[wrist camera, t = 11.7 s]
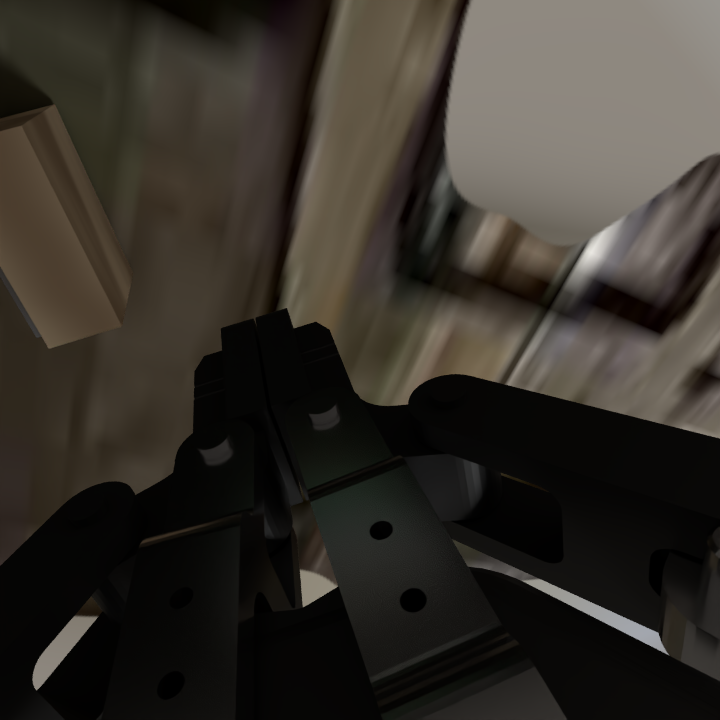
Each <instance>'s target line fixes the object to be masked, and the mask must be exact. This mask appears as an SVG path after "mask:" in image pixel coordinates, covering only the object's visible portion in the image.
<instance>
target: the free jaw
mask: <svg viewBox="0 0 720 720" xmlns="http://www.w3.org/2000/svg"><path fill="white" fill-rule="evenodd" d="M132 276H133V272H132V270H131V268H130V266H129V264H128V261H127V259H126V257H125V255H124V253H123V251H122V248H121V246H120V244H119V242H118V240H117V238H116V236H115V233H114V231H113V229H112V227H111V225H110V223H109V220H108V218H107V216H106V214H105V212H104V210H103V207H102V205H101V203H100V201H99V199H98V197H97V195H96V192H95V190H94V188H93V186H92V184H91V182H90V179H89V177H88V175H87V173H86V171H85V169H84V166H83V164H82V162H81V160H80V158H79V156H78V153H77V151H76V149H75V147H74V145H73V143H72V141H71V138H70V136H69V134H68V132H67V130H66V128H65V125H64V123H63V121H62V119H61V117H60V115H59V112H58V110H57V108H56V106H55V104H53V105H49V106H46V107H42V108H38V109H34V110H30V111H27V112H23V113H19V114H15V115H11V116H8V117H4V118H0V277H1V279H2V281H3V282H4V284H5V286H6V287H7V289H8V291H9V292H10V294H11V296H12V297H13V299H14V301H15V302H16V304H17V306H18V307H19V309H20V311H21V312H22V314H23V316H24V317H25V319H26V321H27V322H28V324H29V326H30V327H31V329H32V331H33V332H34V334H35V336H36V337H37V338H38V337H41V336H42V338H43V339H44V341H45V343H46V344H47V346H48V348H49V349H50V348H53V347H56V346H59V345H63V344H66V343H69V342H72V341H76V340H79V339H82V338H86V337H89V336H92V335H95V334H99V333H102V332H105V331H109V330H112V329H115V328H118V327H122V324H123V319H124V314H125V309H126V305H127V300H128V295H129V290H130V286H131V281H132Z"/></svg>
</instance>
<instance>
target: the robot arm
mask: <svg viewBox="0 0 720 720" xmlns="http://www.w3.org/2000/svg"><path fill="white" fill-rule="evenodd" d="M256 324H257V326H256ZM221 339H222V351H219V352H216V353H213V354H210V355H206V356H204V357H203V359H202V360H201V362H200V364H199V365H198V367H197V368H196V370H195V375H194V386H195V388H194V398H195V400H194V416H193V434H191V435H190V436H189V437H188V438H187V439H186V440H185V441H184V442H183V443H182V445H181V446H180V447H179V449H178V451H177V454H176V459H175V465H174V470H173V473H172V474H171V475H169V476H168V477H166V478H165V479H163V480H162V481H160V482H158V483H156V484H155V485H153V486H151V487H149V488H147V489H146V490H144V491H142V492H140V493H138V494H137V495H135V493H134V492H133V490H132V489H131V487H130V486H129V485H127V484H125V483H122V482H116V481H115V482H105V483H101V484H97V485H94V486H92V487H89V488H87V489H85V490H83V491H81V492H80V493H78V494H77V495H75V496H74V497H72V498H71V499H69V500H68V501H67V502H66V503H65V504H64V505H63V506H61V507H60V508H59V509H58V510H57V511H56V512H55V513H54V514H53V515H52V516H51V517H50V518H49V519H48V520H47V521H46V522H45V523H44V524H43V525H42V526H41V527H40V528H39V529H38V530H37V531H36V532H35V533H34V534H33V535H32V536H31V537H30V538H29V539H28V540H27V541H25V542H24V543H23V544H22V545H21V546H20V547H19V548H18V549H17V550H16V551H15V552H14V553H13V554H12V555H11V556H10V557H9V558H8V559H7V560H6V561H5V562H4V563H3V564H2V565H1V566H0V720H720V439H719V438H715V437H711V436H707V435H703V434H699V433H695V432H691V431H687V430H683V429H680V428H676V427H672V426H668V425H664V424H660V423H656V422H652V421H648V420H644V419H640V418H636V417H632V416H628V415H624V414H620V413H616V412H612V411H608V410H604V409H600V408H596V407H592V406H588V405H584V404H580V403H576V402H572V401H568V400H564V399H560V398H556V397H552V396H548V395H544V394H540V393H536V392H532V391H528V390H524V389H520V388H516V387H512V386H508V385H504V384H500V383H496V382H492V381H488V380H484V379H480V378H476V377H472V376H468V375H460V374H450V375H443V376H439V377H435V378H433V379H430V380H428V381H426V382H424V383H423V384H421V385H419V386H418V387H417V388H416V389H415V390H414V391H413V392H412V394H411V396H410V398H409V401H408V405H398V406H379V405H374V404H370V403H367V402H365V401H363V400H362V399H360V397H359V396H358V394H356V393H355V392H354V390H353V387H352V385H351V382H350V380H349V377H348V375H347V372H346V370H345V367H344V365H343V362H342V360H341V357H340V355H339V353H338V350H337V347H336V345H335V343H334V340H333V337H332V335H331V332H330V330H329V329H327V328H326V327H324V326H322V325H321V324H319V323H317V322H314V323H310V324H307V325H304V326H301V327H297V328H293V325H292V322H291V319H290V316H289V313H288V310H287V308H285V309H282V310H279V311H276V312H272V313H269V314H266V315H262V316H259V317H256V323H255V321H254V319H249V320H246V321H243V322H240V323H236V324H233V325H230V326H226V327H223V328H221ZM501 473H504V474H507V475H510V476H512V477H515V478H518V479H521V480H524V481H527V482H529V483H532V484H535V485H538V486H540V487H542V488H544V489H546V490H547V491H549V492H550V493H549V492H546V491H543V490H540V489H538V488H535V487H532V486H529V485H526V484H524V483H521V482H518V481H515V480H512V479H509V478H507V477H504V476H501ZM299 482H300V484H299ZM300 485H301V487H302V490H303V493H304V495H305V498H306V500H310V503H311V506H312V509H313V512H314V515H315V518H316V521H317V524H318V527H319V530H320V533H321V536H322V539H323V542H324V545H325V548H326V550H327V553H328V556H329V559H330V562H331V565H332V568H333V571H334V574H335V577H336V580H337V583H338V587H337V588H335V589H333V590H332V591H330V592H329V593H327V594H325V595H324V596H322V597H320V598H319V599H317V600H315V601H314V602H312V603H310V604H309V605H307V606H305V607H303V605H302V593H301V580H300V568H299V556H298V543H297V536H296V534H295V531H294V529H293V526H292V524H293V519H292V513H291V507H290V506H291V505H294V504H298V503H301V502H303V499H302V494H301V489H300ZM452 539H453V540H456V541H458V542H460V543H462V544H464V545H467V546H469V547H471V548H473V549H475V550H478V551H480V552H482V553H484V554H486V555H489V556H491V557H493V558H495V559H497V560H500V561H502V562H504V563H506V564H508V565H511V566H513V567H515V568H517V569H519V570H522V571H524V572H526V573H528V574H530V575H533V576H535V577H537V578H539V579H541V580H544V581H546V582H548V583H550V584H552V585H555V586H557V587H559V588H561V589H563V590H566V591H568V592H570V593H572V594H574V595H577V596H579V597H581V598H583V599H585V600H588V601H590V602H592V603H594V604H596V605H599V606H601V607H603V608H605V609H607V610H610V611H612V612H614V613H616V614H618V615H621V616H623V617H625V618H627V619H630V620H632V621H634V622H636V623H638V624H641V625H643V626H645V627H647V628H649V629H651V630H654V631H656V632H658V633H659V636H660V639H661V642H662V644H663V646H664V648H665V649H666V651H667V653H668V654H669V655H670V656H669V655H667V654H665V653H663V652H661V651H659V650H657V649H655V648H653V647H651V646H649V645H647V644H645V643H643V642H641V641H639V640H637V639H635V638H633V637H631V636H629V635H627V634H626V633H624V632H622V631H620V630H617V629H616V628H614V627H611V626H609V625H608V624H606V623H604V622H602V621H600V620H598V619H596V618H594V617H592V616H590V615H588V614H586V613H584V612H582V611H580V610H578V609H576V608H574V607H572V606H570V605H568V604H566V603H564V602H562V601H560V600H558V599H556V598H554V597H552V596H550V595H548V594H546V593H544V592H542V591H540V590H538V589H536V588H534V587H532V586H530V585H529V584H527V583H525V582H522V581H520V580H518V579H516V578H513V577H511V576H508V575H505V574H502V573H499V572H495V571H491V570H487V569H483V568H474V567H468V566H467V564H466V563H465V561H464V559H463V558H462V556H461V554H460V553H459V551H458V549H457V547H456V546H455V544H454V542H453V541H452ZM91 596H92V598H93V599H94V600H95V602H96V603H97V604H98V605H99V607H100V608H101V609H102V611H103V612H102V613H101V614H100V615H99V617H98V618H97V619H96V621H95V622H94V623H93V624H92V625H91V626H90V628H89V629H88V630H87V631H86V632H85V634H84V635H83V636H82V637H81V639H80V640H79V641H78V642H77V643H76V645H75V646H74V647H73V648H72V649H71V651H70V652H69V653H68V654H67V656H66V657H65V658H64V659H63V661H62V662H61V663H60V664H59V665H58V667H57V668H56V669H55V670H54V672H53V673H52V674H51V675H50V676H49V677H48V679H47V680H46V681H45V682H44V684H43V685H42V686H41V687H40V688H39V689H38V690H37V691H36V689H35V688H34V686H33V681H32V678H33V677H32V676H33V671H34V668H35V665H36V663H37V661H38V659H39V657H40V656H41V654H42V653H43V652H44V650H45V649H46V648H47V647H48V646H49V645H50V643H51V642H52V641H53V640H54V639H55V638H56V636H57V635H58V634H59V633H60V632H61V631H62V629H63V628H64V627H65V626H66V625H67V623H68V622H69V621H70V620H71V619H72V618H73V617H74V615H75V614H76V613H77V612H78V611H79V610H80V608H81V607H82V606H83V605H84V604H85V603H86V601H87V600H88V599H89V598H90V597H91Z"/></svg>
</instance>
